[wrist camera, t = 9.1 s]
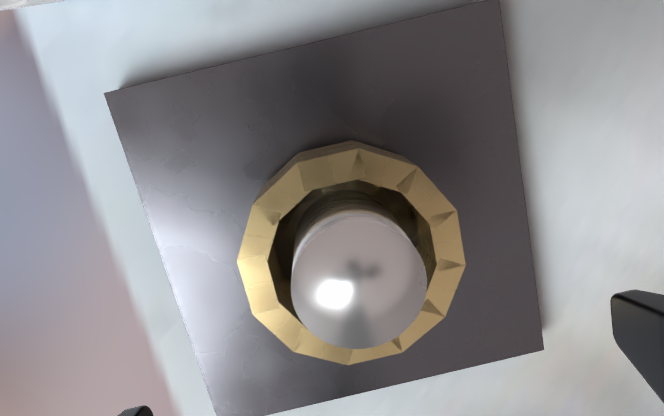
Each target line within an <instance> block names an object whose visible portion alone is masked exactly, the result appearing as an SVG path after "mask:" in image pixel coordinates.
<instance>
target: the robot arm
mask: <svg viewBox="0 0 664 416" xmlns="http://www.w3.org/2000/svg"><path fill="white" fill-rule="evenodd" d="M611 316H612V328H613V335H614V339H615V341H616V343H617V345H618V346H619V348H620V349H621V350H622V351H623V353H624V354H625V355H626V356H627V358H628V359H629V360H630V361H631V363H632V364H633V365H634V366H635V368H636V369H637V370H638V371H639V373H640V374H641V375H642V376H643V378H644V379H645V380H646V382H647V383H648V384H649V385H650V387H651V388H652V389H653V390H654V392H655V393H656V394H657V395H658V397H659V398H660V399H661V400H662V402H663V403H664V295H661V294H656V293H651V292H646V291H640V290H629V291H625V292H621V293H617V294H614V295H613V296H612V297H611ZM118 416H153V413H152V411H151V410H150V408H149V407H147V406H139V407H135V408H131V409H127V410H125V411H123V412H122V413H121V414H119V415H118Z"/></svg>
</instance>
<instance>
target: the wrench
mask: <svg viewBox="0 0 664 416" xmlns="http://www.w3.org/2000/svg"><path fill="white" fill-rule="evenodd" d="M59 1H65V0H0V11H4V10H11V9H16V8H19V7H26V6H34V5H40V4H46V3H52V2H59Z"/></svg>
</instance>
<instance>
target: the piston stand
mask: <svg viewBox="0 0 664 416" xmlns="http://www.w3.org/2000/svg"><path fill="white" fill-rule="evenodd" d="M104 95H105V98H106V101H107V104H108V107H109V109H110V112H111V115H112V118H113V121H114V124H115V127H116V129H117V132H118V135H119V138H120V141H121V144H122V147H123V149H124V152H125V155H126V158H127V161H128V164H129V167H130V169H131V172H132V175H133V178H134V181H135V184H136V187H137V189H138V192H139V195H140V198H141V201H142V204H143V207H144V209H145V212H146V215H147V218H148V221H149V224H150V227H151V229H152V232H153V235H154V238H155V241H156V244H157V247H158V249H159V252H160V255H161V258H162V261H163V264H164V267H165V270H166V272H167V275H168V278H169V281H170V284H171V287H172V290H173V292H174V295H175V298H176V301H177V304H178V307H179V310H180V312H181V315H182V318H183V321H184V324H185V327H186V330H187V332H188V335H189V338H190V341H191V344H192V347H193V350H194V352H195V355H196V358H197V361H198V364H199V367H200V370H201V372H202V375H203V378H204V381H205V384H206V387H207V390H208V392H209V395H210V398H211V401H212V404H213V407H214V410H215V412H216V415H217V416H265V415H270V414H274V413H278V412H282V411H287V410H291V409H295V408H299V407H304V406H308V405H312V404H316V403H321V402H325V401H329V400H333V399H338V398H342V397H346V396H350V395H355V394H359V393H363V392H367V391H372V390H376V389H380V388H384V387H389V386H393V385H397V384H401V383H406V382H410V381H414V380H418V379H423V378H427V377H431V376H435V375H439V374H444V373H448V372H452V371H456V370H461V369H465V368H469V367H473V366H478V365H482V364H486V363H490V362H495V361H499V360H503V359H507V358H512V357H516V356H520V355H524V354H529V353H533V352H537V351H541V350H544V345H543V338H542V330H541V322H540V314H539V307H538V299H537V291H536V283H535V276H534V268H533V260H532V252H531V244H530V237H529V229H528V221H527V213H526V206H525V198H524V190H523V182H522V175H521V167H520V159H519V151H518V144H517V136H516V128H515V120H514V113H513V105H512V97H511V89H510V82H509V74H508V66H507V58H506V51H505V43H504V35H503V27H502V19H501V12H500V4H499V0H487V1H483V2H479V3H475V4H471V5H466V6H462V7H458V8H454V9H450V10H446V11H442V12H437V13H433V14H429V15H425V16H421V17H417V18H413V19H409V20H404V21H400V22H396V23H392V24H388V25H384V26H380V27H375V28H371V29H367V30H363V31H359V32H355V33H351V34H346V35H342V36H338V37H334V38H330V39H326V40H322V41H318V42H313V43H309V44H305V45H301V46H297V47H293V48H289V49H284V50H280V51H276V52H272V53H268V54H264V55H260V56H256V57H251V58H247V59H243V60H239V61H235V62H231V63H227V64H222V65H218V66H214V67H210V68H206V69H202V70H198V71H193V72H189V73H185V74H181V75H177V76H173V77H169V78H165V79H160V80H156V81H152V82H148V83H144V84H140V85H136V86H131V87H127V88H123V89H119V90H115V91H111V92H107V93H104ZM350 140H353V141H356V142H359V143H363V144H366V145H369V146H372V147H376V148H379V149H382V150H385V151H389V152H392V153H395V154H398V155H402V156H403V157H405V158H406V159H408V160H409V161H411V162H412V163H414V164H415V165H417V166H418V167H419V168H420V169H421V170H422V171H423V173H424V174H425V175H426V176H427V177H428V178H429V179H430V180H431V182H432V183H433V184H434V185H435V186H436V187H437V188H438V190H439V191H440V192H441V193H442V194H443V195H444V196H445V197H446V199H447V200H448V201H449V202H450V203H451V204H452V205H453V206H454V208H455V209H456V210H457V215H458V221H459V227H460V233H461V239H462V245H463V252H464V258H465V264H466V266H465V268H464V271H463V273H462V276H461V279H460V281H459V284H458V286H457V289H456V291H455V294H454V296H453V299H452V301H451V304H450V306H449V309H448V311H447V314H446V316H445V317H444V318H443V319H442V320H441V321H440V322H438V323H437V324H436V325H435V326H434V327H432V328H431V329H430V330H429V331H428V332H426V333H425V334H424V335H423V336H422V337H420V338H419V339H418V340H417V341H416V342H414V343H413V344H412V345H411V346H410V347H408V348H407V349H406V350H405V351H404V352H402V353H398V354H394V355H390V356H385V357H381V358H377V359H372V360H368V361H364V362H360V363H355V364H351V365H345V364H341V363H336V362H332V361H328V360H324V359H320V358H316V357H312V356H308V355H304V354H300V353H296V352H293V351H292V350H291V349H290V348H289V347H288V346H286V345H285V344H284V343H283V342H282V341H281V340H280V339H279V338H278V337H277V336H276V335H274V334H273V333H272V332H271V331H270V330H269V329H268V328H267V327H266V326H265V325H263V324H262V323H261V322H260V321H259V320H258V319H257V318H256V317H255V316H254V315H253V314H252V310H251V307H250V304H249V300H248V297H247V294H246V290H245V287H244V284H243V280H242V277H241V274H240V270H239V267H238V264H237V259H238V255H239V252H240V248H241V244H242V241H243V237H244V234H245V230H246V226H247V223H248V219H249V215H250V212H251V208H252V205H253V203H254V201H255V199H256V197H257V195H258V192H259V190H260V189H261V188H262V187H263V186H264V185H265V184H266V183H267V182H268V181H269V180H270V179H271V178H272V177H273V176H274V175H275V174H277V173H278V172H279V171H280V170H281V169H282V168H283V167H284V166H285V165H286V164H287V163H288V162H289V161H290V160H291V159H292V158H293V157H294V156H296V155H297V154H298V153H299V152H303V151H307V150H311V149H315V148H320V147H324V146H328V145H333V144H337V143H341V142H345V141H350ZM273 241H274V245H275V248H276V252H277V256H278V259H279V263H280V267H281V270H282V273H283V274H284V275H285V276H286V277H287V278H288V279H289V280H290V281H291V297H292V302H293V306H294V308H295V311H296V313H297V315H298V317H299V319H300V320H301V322H302V323H303V324H304V326H305V327H306V328H307V329H308V330H309V331H310V332H311V333H312V334H314V335H315V336H316V337H318V338H319V339H321V340H322V341H324V342H326V343H329V344H331V345H334V346H337V347H341V348H347V349H366V348H372V347H376V346H379V345H382V344H385V343H387V342H389V341H391V340H393V339H394V338H396V337H398V336H399V335H400V334H402V333H403V332H404V331H405V330H406V329H407V328H408V327H409V326H410V325H411V324H412V323H413V322H414V320H415V319H416V318H417V316H418V314H419V313H420V311H421V309H422V306H423V304H424V301H425V297H426V291H427V275H426V270H425V266H424V263H423V261H422V258H421V256H420V254H419V253H418V251H417V246H418V243H419V237H418V231H417V226H416V221H415V215H414V210H413V205H412V204H411V203H410V202H409V201H408V200H407V199H406V198H405V197H404V195H403V194H402V193H401V192H398V191H395V190H392V189H388V188H385V187H382V186H378V185H375V184H371V183H368V182H365V181H361V180H358V179H356V180H352V181H348V182H344V183H339V184H335V185H331V186H327V187H322V188H318V189H314V190H312V191H310V192H309V193H308V194H307V195H306V196H305V197H304V198H303V199H302V200H301V201H300V202H299V203H298V204H296V205H295V206H294V207H293V208H292V209H291V210H290V211H289V212H288V213H287V214H286V215H285V216H283V217H282V218H281V219H280V220H279V223H278V226H277V229H276V233H275V236H274V240H273Z"/></svg>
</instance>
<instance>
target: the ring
mask: <svg viewBox="0 0 664 416" xmlns="http://www.w3.org/2000/svg"><path fill="white" fill-rule="evenodd" d="M356 179H358V180H361V181H365V182H368V183H371V184H375V185H378V186H382V187H385V188H388V189H392V190H395V191H398V192H401V193H402V194H403V195H404V197H405V198H406V199H407V200H408V201H409V202H410V203H411V204H412V205H413V210H414V215H415V221H416V226H417V231H418V237H419V243H418V246H417V251H418V253H419V254H420V256H421V258H422V261H423V263H424V266H425V270H426V275H427V291H426V297H425V301H424V304H423V306H422V309H421V311H420V313H419V314H418V316H417V318H416V319H415V320H414V322H413V323H412V324H411V325H410V326H409V327H408V328H407V329H406V330H405V331H404V332H403V333H402V334H400V335H399V336H398V337H396V338H394V339H393V340H391V341H389V342H387V343H385V344H382V345H379V346H376V347H372V348H366V349H347V348H341V347H337V346H334V345H331V344H329V343H326V342H324V341H322V340H321V339H319V338H318V337H316V336H315V335H314V334H312V333H311V332H310V331H309V330H308V329H307V328H306V327H305V326H304V324H303V323H302V322H301V320H300V319H299V317H298V315H297V313H296V311H295V308H294V306H293V302H292V297H291V281H290V280H289V279H288V278H287V277H286V276H285V275H284V274H283V273H282V270H281V267H280V263H279V259H278V256H277V252H276V248H275V245H274V241H273V240H274V236H275V233H276V229H277V226H278V223H279V220H280V219H281V218H282V217H283V216H285V215H286V214H287V213H288V212H289V211H290V210H291V209H292V208H293V207H294V206H295V205H296V204H298V203H299V202H300V201H301V200H302V199H303V198H304V197H305V196H306V195H307V194H308V193H309V192H310V191H312V190H314V189H318V188H322V187H327V186H331V185H335V184H339V183H344V182H348V181H352V180H356ZM237 264H238V267H239V270H240V274H241V277H242V280H243V284H244V287H245V290H246V294H247V297H248V300H249V304H250V307H251V310H252V314H253V315H254V316H255V317H256V318H257V319H258V320H259V321H260V322H261V323H262V324H263V325H265V326H266V327H267V328H268V329H269V330H270V331H271V332H272V333H273V334H274V335H276V336H277V337H278V338H279V339H280V340H281V341H282V342H283V343H284V344H285V345H286V346H288V347H289V348H290V349H291V350H292V351H293V352H296V353H300V354H304V355H308V356H312V357H316V358H320V359H324V360H328V361H332V362H336V363H341V364H345V365H351V364H355V363H360V362H364V361H368V360H372V359H377V358H381V357H385V356H390V355H394V354H398V353H402V352H404V351H405V350H406V349H407V348H408V347H410V346H411V345H412V344H413V343H414V342H416V341H417V340H418V339H419V338H420V337H422V336H423V335H424V334H425V333H426V332H428V331H429V330H430V329H431V328H432V327H434V326H435V325H436V324H437V323H438V322H440V321H441V320H442V319H443V318H444V317H445V316H446V314H447V311H448V309H449V306H450V304H451V301H452V299H453V296H454V294H455V291H456V289H457V286H458V284H459V281H460V279H461V276H462V273H463V271H464V268H465V266H466V264H465V258H464V252H463V245H462V239H461V233H460V227H459V221H458V215H457V210H456V209H455V208H454V206H453V205H452V204H451V203H450V202H449V201H448V200H447V199H446V197H445V196H444V195H443V194H442V193H441V192H440V191H439V190H438V188H437V187H436V186H435V185H434V184H433V183H432V182H431V180H430V179H429V178H428V177H427V176H426V175H425V174H424V173H423V171H422V170H421V169H420V168H419V167H418V166H417V165H415V164H414V163H412V162H411V161H409V160H408V159H406V158H405V157H403V156H402V155H398V154H395V153H392V152H389V151H385V150H382V149H379V148H376V147H372V146H369V145H366V144H363V143H359V142H356V141H353V140H350V141H345V142H341V143H337V144H333V145H328V146H324V147H320V148H315V149H311V150H307V151H303V152H299V153H298V154H297V155H296V156H294V157H293V158H292V159H291V160H290V161H289V162H288V163H287V164H286V165H285V166H284V167H283V168H282V169H281V170H280V171H279V172H278V173H277V174H275V175H274V176H273V177H272V178H271V179H270V180H269V181H268V182H267V183H266V184H265V185H264V186H263V187H262V188H261V189H260V190H259V192H258V195H257V197H256V199H255V201H254V203H253V205H252V208H251V212H250V215H249V219H248V223H247V226H246V230H245V234H244V237H243V241H242V244H241V248H240V252H239V255H238V259H237Z"/></svg>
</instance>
